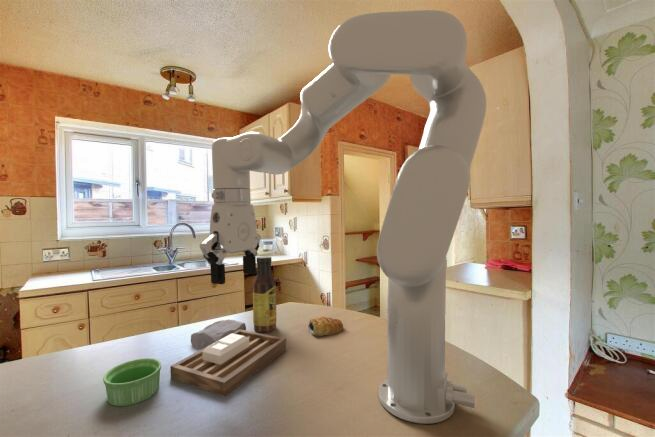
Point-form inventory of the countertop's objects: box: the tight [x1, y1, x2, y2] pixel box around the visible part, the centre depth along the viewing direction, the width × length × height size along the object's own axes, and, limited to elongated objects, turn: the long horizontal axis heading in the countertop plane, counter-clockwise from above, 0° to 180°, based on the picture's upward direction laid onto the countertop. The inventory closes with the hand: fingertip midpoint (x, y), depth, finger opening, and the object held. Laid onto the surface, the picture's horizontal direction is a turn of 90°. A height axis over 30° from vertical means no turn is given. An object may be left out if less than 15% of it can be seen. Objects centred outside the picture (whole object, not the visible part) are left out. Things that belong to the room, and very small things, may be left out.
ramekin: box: [102, 357, 162, 407], centre depth 57 cm, size 9×9×4 cm
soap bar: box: [202, 333, 249, 365], centre depth 68 cm, size 5×9×3 cm, turn 155°
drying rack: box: [169, 329, 287, 397], centre depth 68 cm, size 14×20×2 cm
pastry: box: [307, 316, 344, 337], centre depth 85 cm, size 9×7×4 cm
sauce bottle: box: [252, 255, 277, 333], centre depth 86 cm, size 6×6×20 cm
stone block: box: [190, 319, 247, 350], centre depth 80 cm, size 12×5×10 cm
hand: (234, 278), depth 67 cm, fingers open, 9 cm apart
